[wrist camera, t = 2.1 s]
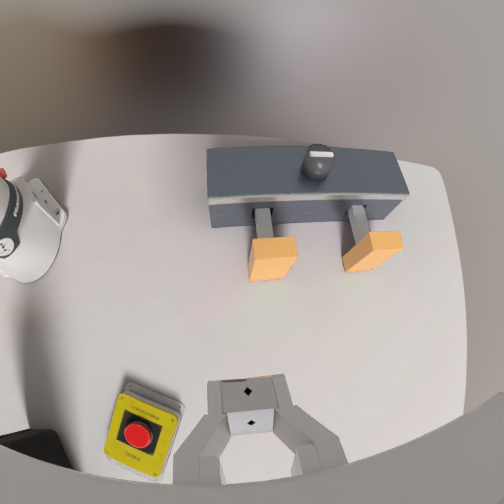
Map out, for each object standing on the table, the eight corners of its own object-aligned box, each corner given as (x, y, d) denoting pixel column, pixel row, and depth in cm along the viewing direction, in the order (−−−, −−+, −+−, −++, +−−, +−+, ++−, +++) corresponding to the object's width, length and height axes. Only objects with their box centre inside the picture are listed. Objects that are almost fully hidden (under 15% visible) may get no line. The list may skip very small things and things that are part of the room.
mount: (383, 221, 47) (410, 195, 39) (211, 230, 44) (207, 199, 36) (371, 181, 50) (393, 152, 41) (210, 184, 47) (206, 148, 38)
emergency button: (182, 409, 32) (154, 493, 27) (187, 403, 36) (160, 482, 31) (118, 381, 32) (95, 466, 27) (128, 379, 36) (106, 457, 31)
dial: (332, 179, 38) (339, 165, 35) (304, 179, 38) (310, 165, 34) (325, 157, 39) (332, 142, 36) (299, 156, 39) (304, 141, 36)
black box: (25, 426, 30) (-75, 443, 6) (57, 424, 31) (-51, 451, 8) (59, 501, 25) (-18, 550, 2) (94, 503, 27) (20, 569, 3)
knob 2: (372, 269, 44) (404, 247, 34) (345, 272, 43) (373, 250, 34) (352, 191, 48) (375, 158, 39) (327, 191, 48) (346, 157, 39)
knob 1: (283, 278, 42) (298, 256, 33) (249, 281, 42) (255, 259, 32) (271, 193, 47) (280, 155, 38) (240, 194, 47) (243, 156, 37)
